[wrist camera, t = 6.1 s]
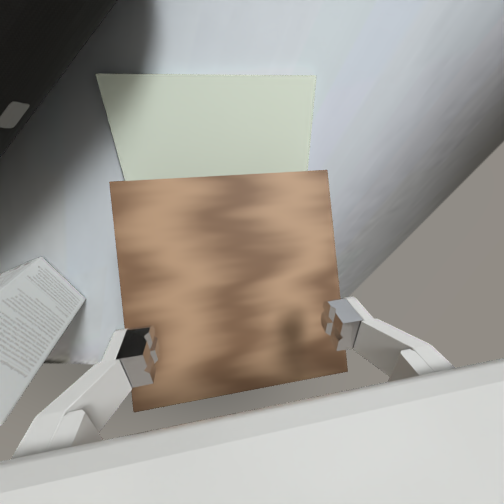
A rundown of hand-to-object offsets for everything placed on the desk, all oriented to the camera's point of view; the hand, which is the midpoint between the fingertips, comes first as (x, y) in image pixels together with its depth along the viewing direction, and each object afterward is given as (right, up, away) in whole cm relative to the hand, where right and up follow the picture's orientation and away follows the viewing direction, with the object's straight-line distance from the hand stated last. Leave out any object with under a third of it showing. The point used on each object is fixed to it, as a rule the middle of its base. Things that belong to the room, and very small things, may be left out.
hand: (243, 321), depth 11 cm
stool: (-2, +8, +7) cm, 11 cm away
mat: (-2, +5, +13) cm, 14 cm away
